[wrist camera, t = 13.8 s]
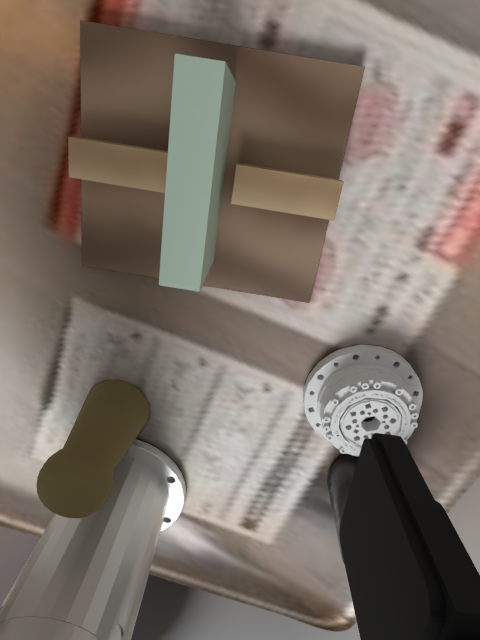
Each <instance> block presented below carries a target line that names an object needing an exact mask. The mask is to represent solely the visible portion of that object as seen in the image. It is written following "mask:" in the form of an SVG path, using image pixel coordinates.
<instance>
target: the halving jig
mask: <svg viewBox="0 0 480 640" xmlns="http://www.w3.org/2000/svg"><path fill="white" fill-rule="evenodd" d="M80 40H81V137H68V156H69V177H70V178H76V179H81V195H82V266H86V267H92V268H99V269H105V270H111V271H117V272H123V273H129V274H136V275H142V276H148V277H154V278H159V274H160V259H161V245H162V230H163V216H164V202H165V187H166V173H167V159H168V144H169V130H170V115H171V101H172V87H173V72H174V58H175V54H181V55H187V56H194V57H200V58H206V59H212V60H219V61H225V62H226V63H227V65H228V67H229V69H230V71H231V73H232V75H233V77H234V79H235V81H236V84H235V92H234V100H233V109H232V117H231V125H230V133H229V141H228V149H227V157H226V165H225V173H224V181H223V190H222V198H221V206H220V214H219V222H218V230H217V238H216V246H215V254H214V262H213V264H212V266H211V268H210V270H209V273H208V275H207V277H206V279H205V281H204V283H203V286H209V287H216V288H222V289H228V290H234V291H240V292H246V293H252V294H259V295H265V296H271V297H277V298H283V299H289V300H295V301H302V302H308V303H310V299H311V295H312V290H313V286H314V282H315V277H316V273H317V269H318V265H319V260H320V256H321V252H322V248H323V243H324V239H325V235H326V230H327V226H328V222H329V220H334V219H335V215H336V211H337V206H338V202H339V198H340V194H341V190H342V186H343V181H341V180H339V175H340V171H341V166H342V162H343V158H344V154H345V149H346V145H347V141H348V136H349V132H350V128H351V124H352V119H353V115H354V111H355V107H356V102H357V98H358V94H359V89H360V85H361V81H362V77H363V72H364V68H365V67H363V66H357V65H351V64H344V63H338V62H332V61H326V60H320V59H314V58H308V57H302V56H296V55H290V54H283V53H277V52H271V51H265V50H259V49H253V48H247V47H241V46H235V45H229V44H223V43H216V42H210V41H204V40H198V39H192V38H186V37H180V36H174V35H168V34H162V33H155V32H149V31H143V30H137V29H131V28H125V27H119V26H113V25H107V24H101V23H95V22H88V21H82V20H80Z"/></svg>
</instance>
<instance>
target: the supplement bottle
mask: <svg viewBox="0 0 480 640" xmlns="http://www.w3.org/2000/svg"><path fill="white" fill-rule="evenodd" d="M358 458H359V456H353V455H350V454H347V455H345V456H343V457H341V458H340V459H338V460H337V461H336V462H335V463H334V464H333V466H332V467H331V469H330V471H329V474H328V479H327V483H328V490H329V496H330V501H331V506H332V511H333V516H334V521H335V526H336V531H337V536H338V541H339V546H340V551H341V555H342V559H343V562H344V558H343V553H342V549H341V544H340V537H339V530H340V523H341V519H342V516H343V512H344V509H345V505H346V501H347V498H348V494H349V491H350V487H351V483H352V480H353V476H354V473H355V469H356V465H357V462H358ZM344 564H345V563H344Z"/></svg>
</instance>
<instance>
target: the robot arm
mask: <svg viewBox="0 0 480 640" xmlns="http://www.w3.org/2000/svg"><path fill="white" fill-rule="evenodd" d="M113 477H114V478H113V485H112V489H111V493H110V495H109V497H108V499H107V500H106V501H105V503H104V504H103V505H102V506H101V508H100V509H99V510H97V511H96V512H94V513H92V514H90V515H89V516H87V517H83V518H67V517H63V516H59V515H57V514H54V516H53V518H52V519H51V521H50V523H49V524H48V526H47V528H46V530H45V531H44V533H43V535H42V537H41V538H40V540H39V542H38V544H37V545H36V547H35V549H34V550H33V552H32V554H31V556H30V557H29V559H28V561H27V563H26V565H25V566H24V568H23V570H22V571H21V573H20V575H19V577H18V578H17V580H16V582H15V583H14V585H13V587H12V589H11V590H10V592H9V594H8V596H7V597H6V599H5V601H4V602H3V604H2V606H1V608H0V640H131V636H132V633H133V629H134V625H135V622H136V618H137V614H138V611H139V607H140V603H141V600H142V596H143V593H144V589H145V585H146V582H147V578H148V575H149V571H150V568H151V564H152V560H153V557H154V553H155V549H156V546H157V542H158V539H159V535H160V531H163V530H165V529H166V528H168V527H169V526H171V525H172V524H173V523H174V522H175V521H176V520H177V519H178V517H179V515H180V514H181V512H182V510H183V506H184V502H185V497H186V486H185V481H184V478H183V476H182V473H181V472H180V470H179V469H178V467H177V465H176V464H175V463H174V462H173V461H172V460H171V459H170V458H169V457H168V456H167V455H166V454H164V453H163V452H162V451H161V450H159V449H157V448H156V447H154V446H152V445H150V444H148V443H145V442H142V441H140V440H137V439H135V440H134V442H133V443H132V445H131V446H130V448H129V449H128V451H127V452H126V453H125V455H124V456H123V458H122V459H121V461H120V462H119V464H118V465H117V467H116V468H115V469H114V471H113ZM339 537H340V544H341V549H342V553H343V558H344V563H345V568H346V572H347V577H348V582H349V586H350V591H351V596H352V600H353V605H354V610H355V614H356V619H357V624H358V628H359V633H360V638H361V640H480V575H479V573H478V572H477V570H476V568H475V566H474V564H473V562H472V560H471V558H470V556H469V555H468V553H467V551H466V549H465V547H464V545H463V543H462V542H461V540H460V538H459V536H458V534H457V532H456V530H455V528H454V527H453V525H452V523H451V521H450V519H449V517H448V515H447V513H446V512H445V510H444V508H443V507H442V506H441V504H440V503H438V502H437V501H435V500H434V498H433V496H432V494H431V492H430V490H429V488H428V487H427V485H426V483H425V481H424V479H423V477H422V475H421V473H420V471H419V469H418V467H417V465H416V463H415V462H414V460H413V458H412V456H411V454H410V452H409V450H408V448H407V446H406V444H405V442H404V440H403V439H402V438H401V437H400V436H397V435H389V434H381V433H374V434H373V435H372V437H371V439H369V438H366V439H364V441H363V444H362V448H361V451H360V455H359V458H358V462H357V465H356V469H355V473H354V476H353V480H352V483H351V487H350V491H349V494H348V498H347V501H346V505H345V509H344V512H343V516H342V519H341V523H340V530H339Z"/></svg>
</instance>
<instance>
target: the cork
mask: <svg viewBox="0 0 480 640" xmlns="http://www.w3.org/2000/svg"><path fill="white" fill-rule="evenodd" d="M149 416H150V405H149V402H148V400H147V398H146V396H145V395H144V394H143V393H142V392H141V390H140V389H139V388H137V387H136V386H134V385H132V384H130V383H128V382H125V381H121V380H106V381H103V382H100V383H98V384H97V385H95V386H94V387H93V388H92V389H91V391H90V392H89V394H88V396H87V398H86V400H85V402H84V404H83V407H82V409H81V411H80V413H79V415H78V417H77V420H76V422H75V424H74V426H73V428H72V430H71V433H70V435H69V437H68V439H67V441H66V443H65V445H64V448H63V449H61V450H59V451H58V452H56V453H55V454H53V455H52V456H51V457H50V458H48V460H47V461H46V463H45V464H44V465H43V467H42V469H41V470H40V472H39V475H38V479H37V492H38V496H39V499H40V500H41V502H42V503H43V505H44V506H45V507H47V508H48V509H49V510H50V511H51V512H53V513H55V514H57V515H59V516H63V517H67V518H83V517H87V516H89V515H90V514H92V513H94V512H96V511H97V510H99V509H100V508H101V506H102V505H103V504H104V503H105V501H106V500H107V499H108V497H109V495H110V493H111V489H112V485H113V478H114V477H113V471H114V469H115V468H116V467H117V465H118V464H119V462H120V461H121V459H122V458H123V456H124V455H125V453H126V452H127V451H128V449H129V448H130V446H131V445H132V443H133V442H134V440H135V439H136V437H137V436H138V435H139V433H140V432H141V430H142V429H143V427H144V426H145V424H146V423H147V421H148V420H149Z"/></svg>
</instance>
